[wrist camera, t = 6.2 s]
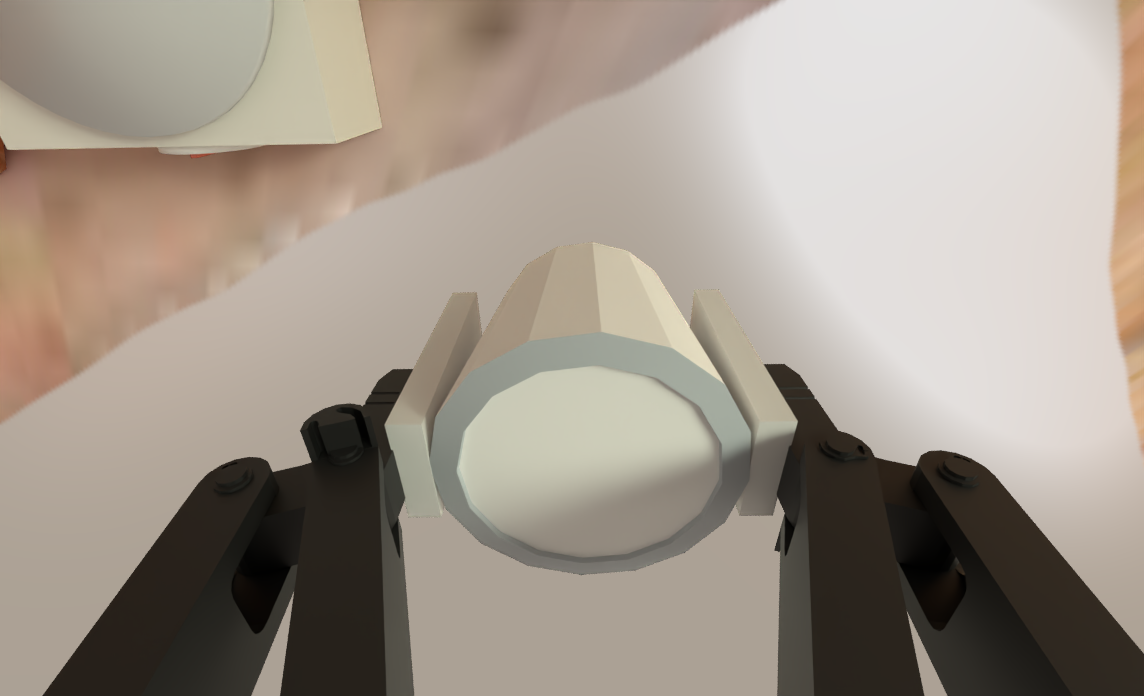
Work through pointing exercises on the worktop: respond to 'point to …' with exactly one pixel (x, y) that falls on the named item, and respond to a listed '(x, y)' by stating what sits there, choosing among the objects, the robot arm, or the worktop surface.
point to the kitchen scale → (183, 74)
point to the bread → (2, 157)
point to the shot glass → (589, 422)
